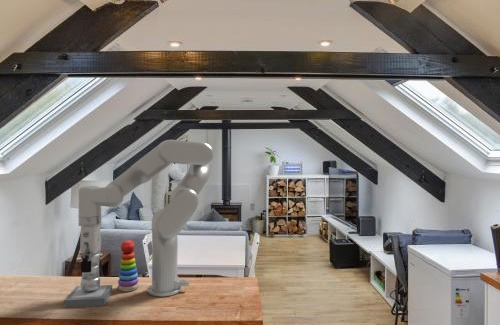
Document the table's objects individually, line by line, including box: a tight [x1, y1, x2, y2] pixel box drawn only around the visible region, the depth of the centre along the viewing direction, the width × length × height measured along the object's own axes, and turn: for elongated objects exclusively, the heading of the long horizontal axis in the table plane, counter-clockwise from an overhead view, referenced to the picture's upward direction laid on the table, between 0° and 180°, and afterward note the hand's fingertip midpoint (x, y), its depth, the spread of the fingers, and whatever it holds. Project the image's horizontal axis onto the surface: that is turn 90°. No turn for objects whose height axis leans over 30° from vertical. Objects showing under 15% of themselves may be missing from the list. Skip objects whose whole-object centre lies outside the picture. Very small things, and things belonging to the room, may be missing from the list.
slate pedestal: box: [64, 284, 113, 308], centre depth 134 cm, size 13×13×3 cm
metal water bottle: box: [80, 247, 102, 292], centre depth 135 cm, size 6×7×20 cm
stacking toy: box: [117, 239, 140, 292], centre depth 145 cm, size 8×8×19 cm
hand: (90, 267), depth 134 cm, fingers open, 9 cm apart
